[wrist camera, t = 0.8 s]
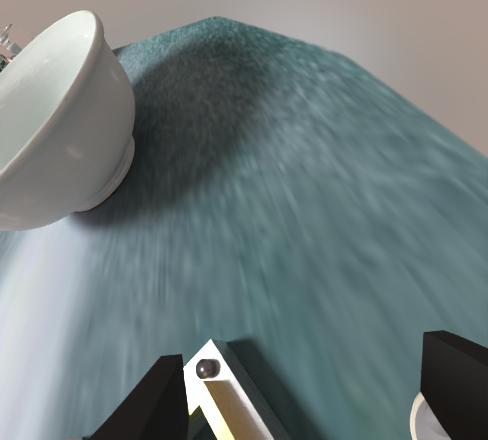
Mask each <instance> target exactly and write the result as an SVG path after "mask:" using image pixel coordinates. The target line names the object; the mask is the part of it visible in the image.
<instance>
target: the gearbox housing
mask: <svg viewBox="0 0 488 440" xmlns="http://www.w3.org/2000/svg"><path fill="white" fill-rule="evenodd" d="M184 374H185V382H186V389H187V397H188V405H189V413H190V415H189V426H188V436H187V440H192V439H193V438H194V437H195V436H196V435H197V434H198V433H199V432H200V431H201V429H202V428H203V427H204V426H205V425H206V424H207V423H208V422H209V424H210V425H211V427H212V429H213V431H214V433H215V435H216V437H217V439H218V440H292V438H291V437H290V435H289V434H288V432H287V431H286V429H285V428H284V426H283V425H282V423H281V422H280V420H279V419H278V417H277V416H276V414H275V413H274V411H273V410H272V408H271V407H270V405H269V404H268V402H267V401H266V399H265V398H264V396H263V395H262V393H261V392H260V390H259V389H258V387H257V386H256V384H255V383H254V382H253V380H252V379H251V377H250V376H249V374H248V373H247V371H246V370H245V368H244V367H243V365H242V364H241V362H240V361H239V359H238V358H237V356H236V355H235V353H234V352H233V350H232V349H231V347H230V346H229V344H228V343H227V342H225V341H219V340H213V339H211V340H210V341H209V342H208V343H207V344H206V345H205V346H204V347H203V348H202V349H201V350H200V351H199V352H198V353H197V355H196V356H195V357H194V358H193V359H192V360H191V361H190V362H189V363H188V364H187V365H186V366H185V367H184Z"/></svg>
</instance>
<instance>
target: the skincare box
mask: <svg viewBox="0 0 488 440" xmlns="http://www.w3.org/2000/svg"><path fill="white" fill-rule="evenodd" d="M67 440H83V439H82V438H81V437H77V438H72V439H67Z"/></svg>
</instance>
